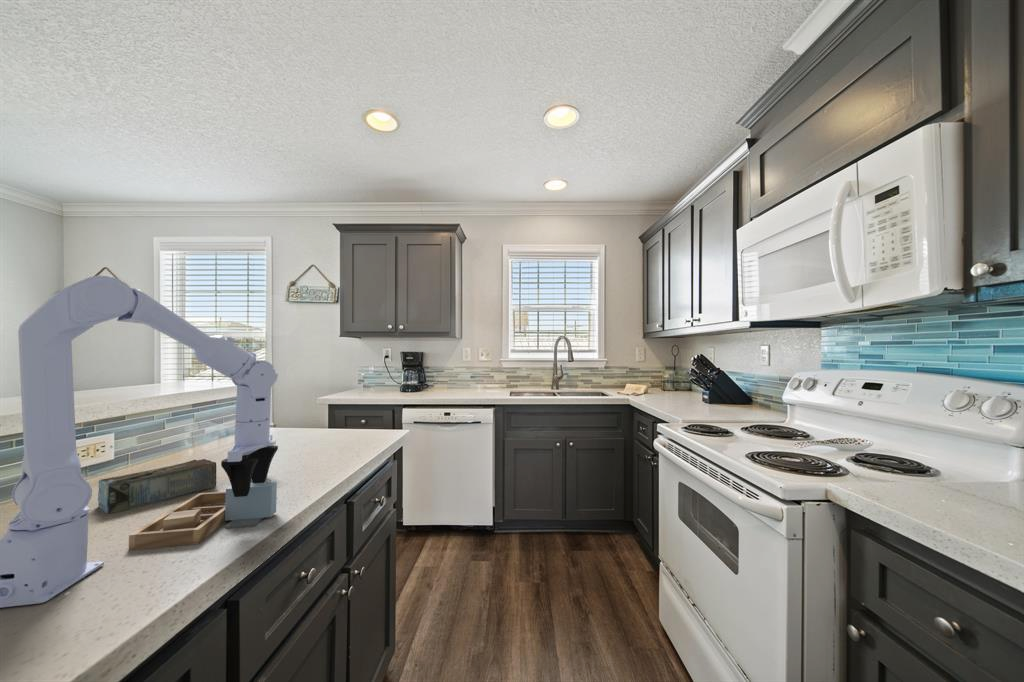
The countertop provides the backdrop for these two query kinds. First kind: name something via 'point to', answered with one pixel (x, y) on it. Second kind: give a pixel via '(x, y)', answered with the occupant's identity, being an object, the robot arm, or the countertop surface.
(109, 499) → the beverage carton
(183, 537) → the tray
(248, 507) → the pale blue block
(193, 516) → the offcut upper
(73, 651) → the countertop surface
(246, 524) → the mat
